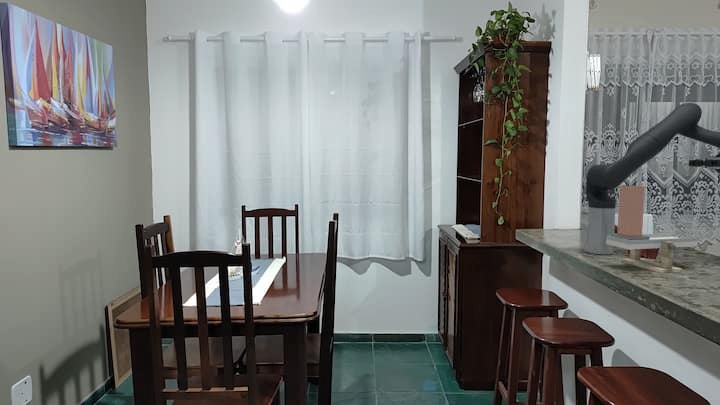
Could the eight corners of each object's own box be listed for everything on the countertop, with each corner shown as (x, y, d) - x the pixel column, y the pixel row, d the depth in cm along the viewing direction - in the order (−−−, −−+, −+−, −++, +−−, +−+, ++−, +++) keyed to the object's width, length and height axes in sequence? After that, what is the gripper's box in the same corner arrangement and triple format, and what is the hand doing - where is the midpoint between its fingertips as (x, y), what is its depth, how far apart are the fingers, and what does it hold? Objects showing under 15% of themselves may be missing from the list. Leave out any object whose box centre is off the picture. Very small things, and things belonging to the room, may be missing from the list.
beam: (671, 240, 171) (671, 232, 170) (697, 246, 161) (697, 237, 161) (606, 243, 165) (606, 235, 165) (628, 249, 155) (629, 240, 155)
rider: (630, 238, 166) (633, 185, 164) (649, 242, 158) (652, 186, 157) (609, 239, 164) (612, 185, 163) (627, 243, 156) (630, 187, 155)
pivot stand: (639, 260, 173) (641, 233, 172) (682, 271, 156) (684, 242, 155) (620, 261, 171) (621, 234, 170) (661, 273, 154) (663, 243, 153)
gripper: (716, 152, 177) (675, 152, 174) (752, 151, 164) (708, 152, 161) (715, 172, 178) (674, 173, 175) (750, 174, 165) (707, 175, 162)
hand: (690, 163), depth 168 cm, fingers closed
